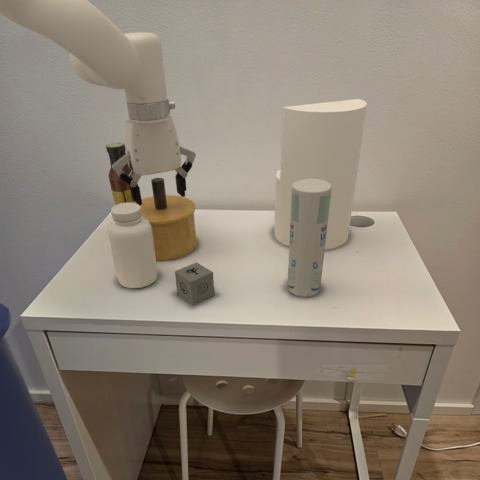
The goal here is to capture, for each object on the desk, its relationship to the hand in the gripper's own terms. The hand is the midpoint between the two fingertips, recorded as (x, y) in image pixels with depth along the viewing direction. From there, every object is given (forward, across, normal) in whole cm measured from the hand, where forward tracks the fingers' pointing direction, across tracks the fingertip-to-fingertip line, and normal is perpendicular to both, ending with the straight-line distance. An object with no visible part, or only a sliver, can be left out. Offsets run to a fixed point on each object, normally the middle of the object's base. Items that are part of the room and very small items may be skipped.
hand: (160, 198), depth 92 cm
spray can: (+11, -17, +30) cm, 36 cm away
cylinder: (+11, -32, +11) cm, 36 cm away
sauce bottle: (+11, +4, -13) cm, 18 cm away
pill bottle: (+11, +10, +11) cm, 19 cm away
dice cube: (+11, +2, +22) cm, 25 cm away
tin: (+11, 0, 0) cm, 11 cm away
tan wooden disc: (+2, 0, 0) cm, 2 cm away
